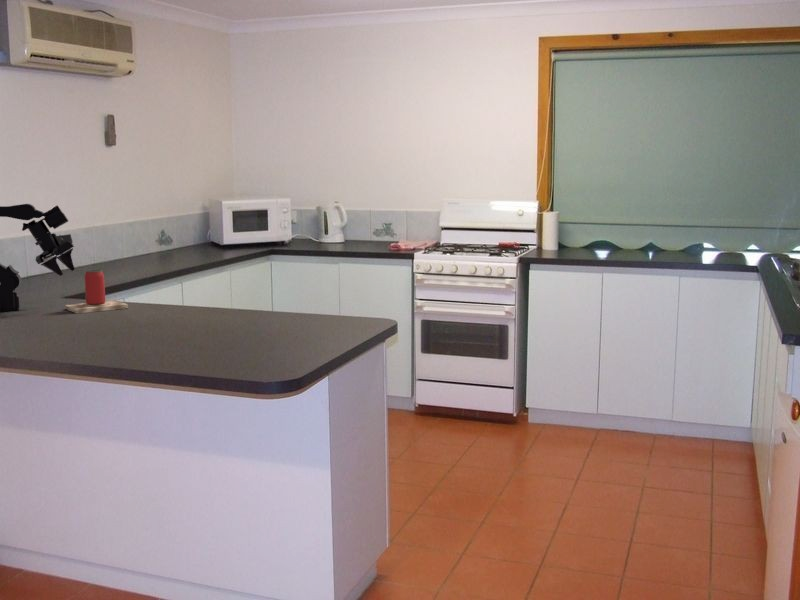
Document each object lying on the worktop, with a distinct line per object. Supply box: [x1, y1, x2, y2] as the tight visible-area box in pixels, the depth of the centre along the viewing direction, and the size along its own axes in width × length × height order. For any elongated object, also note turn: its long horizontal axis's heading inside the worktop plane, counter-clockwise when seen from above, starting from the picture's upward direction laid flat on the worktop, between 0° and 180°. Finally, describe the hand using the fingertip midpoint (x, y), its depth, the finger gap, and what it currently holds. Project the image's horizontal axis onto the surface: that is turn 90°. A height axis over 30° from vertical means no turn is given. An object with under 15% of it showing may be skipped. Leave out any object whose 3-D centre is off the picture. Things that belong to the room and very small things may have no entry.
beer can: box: [84, 269, 106, 305], centre depth 302 cm, size 7×7×12 cm
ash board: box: [64, 300, 129, 314], centre depth 303 cm, size 18×13×2 cm
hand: (67, 272), depth 306 cm, fingers open, 9 cm apart
